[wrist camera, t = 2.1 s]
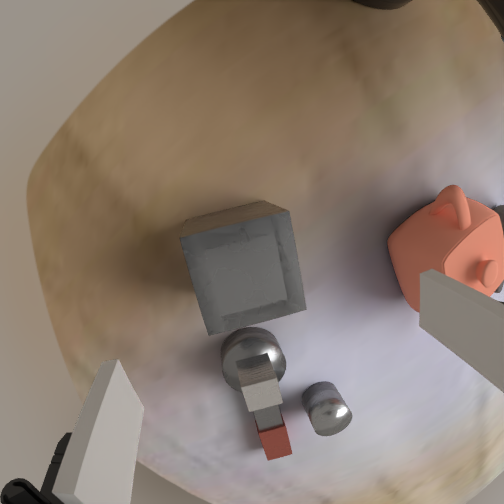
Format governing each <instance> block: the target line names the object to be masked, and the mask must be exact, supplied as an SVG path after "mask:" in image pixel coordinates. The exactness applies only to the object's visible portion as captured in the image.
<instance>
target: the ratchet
mask: <svg viewBox="0 0 504 504" xmlns="http://www.w3.org/2000/svg"><path fill="white" fill-rule="evenodd" d="M221 361H222V369H223V375H224V378H225V380H226V382H227V383H228V384H229V385H230V386H231V387H232V388H234V389H235V390H237V391H240V392H243V395H244V398H245V401H246V404H247V407H248V410H249V412H251V411H253V412H254V416H255V419H256V420H255V422H256V426H257V430H258V434H259V437H260V439H261V442H262V445H263V448H264V451H265V454H266V457H267V459H268V460H272V459H276V458H280V457H283V456H287V455H290V454H292V450H291V446H290V442H289V438H288V434H287V430H286V426H285V423H284V420H283V417H282V415H281V413H280V409H279V405H278V404H281V403H283V401H282V397H281V393H280V388H279V384H278V382H279V381H280V380H281V378H282V377H283V375H284V373H285V370H286V360H285V357H284V355H283V353H282V350H281V348H280V346H279V344H278V342H277V340H276V338H275V337H274V336H273V334H271V333H270V332H269V331H267V330H265V329H262V328H257V327H248V328H243V329H240V330H238V331H236V332H234V333H232V334H231V335H230V336H229V337H228V338H227V339H226V340H225V342H224V343H223V345H222V348H221Z"/></svg>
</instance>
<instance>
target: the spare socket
mask: <svg viewBox="0 0 504 504" xmlns="http://www.w3.org/2000/svg"><path fill="white" fill-rule="evenodd" d="M302 404H303V406H304V408H305V410H306V413H307V415H308V417H309V419H310V421H311V424H312V426H313V428H314V430H315V432H316V433H317V434H318V435H321V436H330V435H334V434H336V433H339V432H340V431H342V430H343V429H345V428H346V427H347V426H348V425H349V423H350V422H351V419H352V413H351V411H350V409H349V408H348V406H347V405H346V403H345V401H344V400H343V398H342V397H341V395H340V393H339V392H338V390H337V389H336V387H335V386H334V384H332V383H330V382H318V383H315V384H313V385H312V386H310V387H309V388H308V389H306V391H305V392H304V393H303V395H302Z"/></svg>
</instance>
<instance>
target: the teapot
mask: <svg viewBox="0 0 504 504" xmlns="http://www.w3.org/2000/svg"><path fill="white" fill-rule="evenodd" d="M387 244H388V250H389V254H390V257H391V260H392V264H393V267H394V270H395V273H396V276H397V279H398V282H399V284H400V287H401V290H402V292H403V295H404V297H405V299H406V301H407V302H408V304H409V305H410V307H411V308H413V309H414V310H416V311H417V312H419V313H420V273H422V272H425V271H427V270H430V269H434V270H436V271H438V272H440V273H442V274H444V275H446V276H449V277H451V278H453V279H455V280H457V281H459V282H461V283H463V284H465V285H467V286H469V287H471V288H473V289H475V290H477V291H479V292H481V293H483V294H485V295H487V296H489V297H490V296H491V295H492V294H493V293H494V292H495V290H496V289H497V288H498V287H499V286H500V284H501V283H502V282H503V280H504V235H503V229H502V224H501V220H500V216H499V214H497V213H496V212H495V211H493V210H492V209H490V208H488V207H487V206H485V205H483V204H481V203H479V202H477V201H475V200H472V199H469V198H467V197H465V194H464V192H463V191H462V189H461V188H460V187H458V186H456V185H450V186H448V187H446V188H444V189H443V190H442V191H441V192H440V194H439V195H438V197H437V198H436V200H435V202H433V203H431V204H429V205H427V206H425V207H423V208H421V209H420V210H418V211H417V212H415V213H414V214H413V215H412V216H410V217H409V218H408V219H407V220H406V221H404V222H403V223H402V224H401V225H400V226H399V227H398V228H397V229H396V230H395V231H394V232H393V233H392V234H391V235H390V236H389V238H388V241H387Z"/></svg>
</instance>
